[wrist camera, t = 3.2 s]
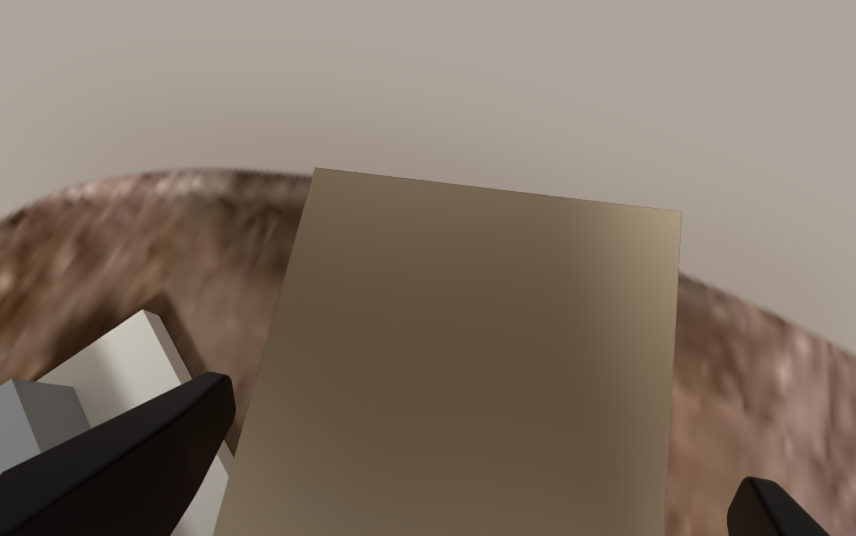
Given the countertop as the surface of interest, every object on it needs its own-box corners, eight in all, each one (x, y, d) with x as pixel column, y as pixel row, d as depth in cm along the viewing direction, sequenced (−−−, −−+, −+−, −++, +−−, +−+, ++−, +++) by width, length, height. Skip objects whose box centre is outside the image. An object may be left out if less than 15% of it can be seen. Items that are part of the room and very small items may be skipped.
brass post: (534, 498, 17) (657, 660, 4) (409, 472, 17) (209, 546, 5) (549, 371, 18) (681, 211, 5) (432, 350, 18) (314, 167, 6)
